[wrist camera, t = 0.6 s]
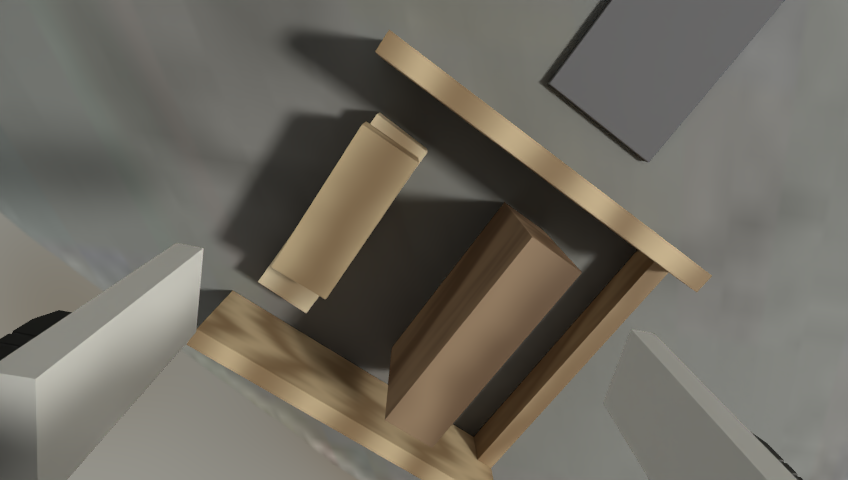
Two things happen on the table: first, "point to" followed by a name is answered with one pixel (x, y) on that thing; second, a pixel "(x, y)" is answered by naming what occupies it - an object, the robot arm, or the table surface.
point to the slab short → (346, 210)
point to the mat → (655, 63)
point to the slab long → (272, 277)
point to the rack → (366, 395)
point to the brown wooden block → (474, 323)
